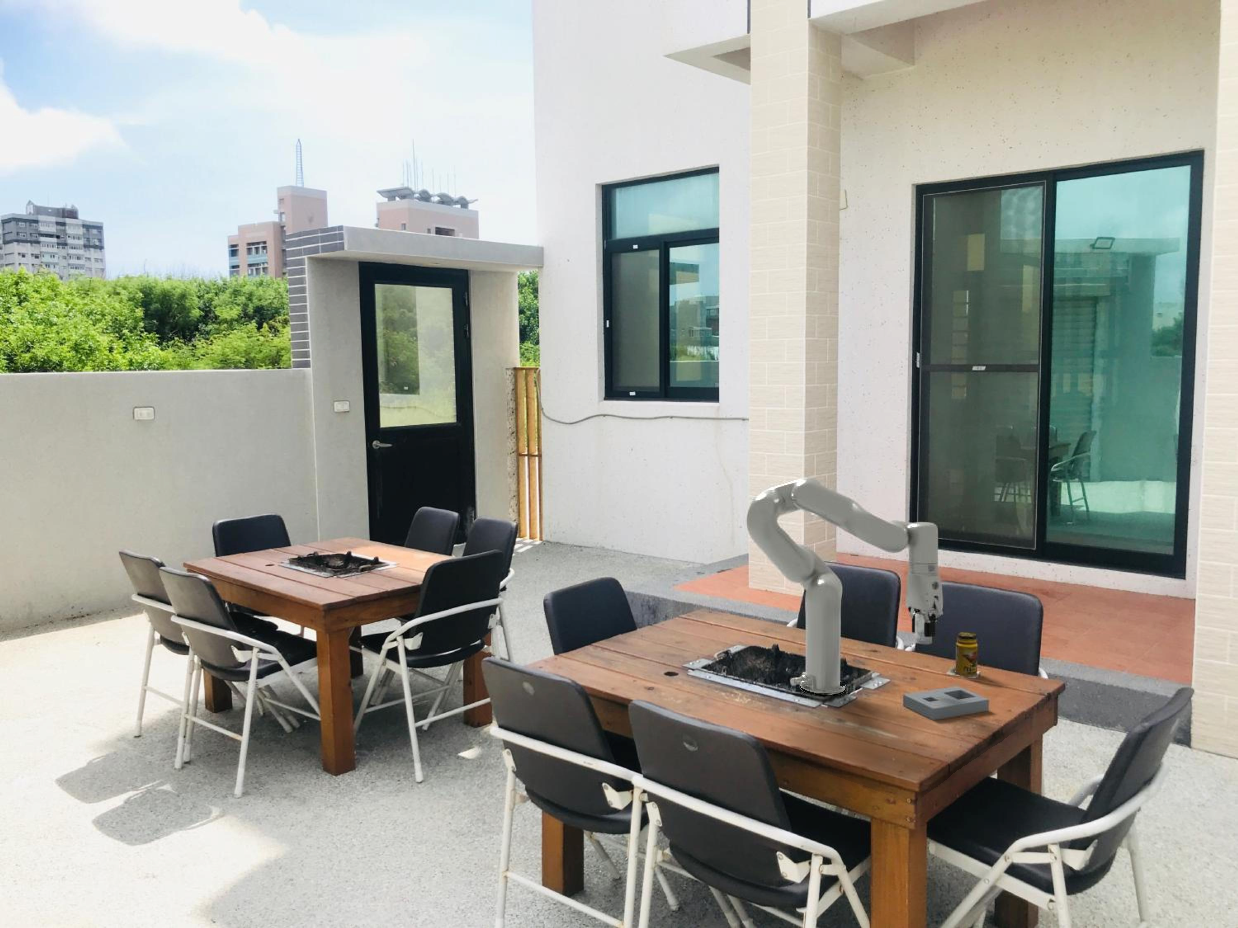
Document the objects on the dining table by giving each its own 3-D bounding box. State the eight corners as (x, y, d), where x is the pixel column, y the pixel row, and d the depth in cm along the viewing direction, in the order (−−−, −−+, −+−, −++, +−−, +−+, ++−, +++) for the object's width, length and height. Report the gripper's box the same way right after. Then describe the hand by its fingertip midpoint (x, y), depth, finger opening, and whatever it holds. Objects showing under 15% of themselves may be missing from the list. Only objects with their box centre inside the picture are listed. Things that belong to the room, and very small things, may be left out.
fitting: (922, 644, 261) (922, 615, 261) (911, 641, 265) (911, 612, 265) (935, 642, 263) (935, 613, 262) (924, 639, 267) (924, 610, 266)
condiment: (976, 678, 281) (977, 638, 280) (945, 674, 285) (946, 634, 284) (980, 671, 287) (981, 632, 286) (950, 667, 291) (951, 628, 290)
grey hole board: (933, 719, 248) (933, 708, 247) (903, 705, 259) (903, 694, 258) (988, 710, 254) (989, 699, 254) (957, 696, 265) (957, 685, 265)
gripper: (956, 572, 256) (956, 639, 258) (913, 561, 272) (914, 625, 273) (933, 574, 253) (933, 643, 255) (892, 564, 269) (892, 628, 270)
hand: (923, 633), depth 264 cm, fingers closed on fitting, 4 cm apart
